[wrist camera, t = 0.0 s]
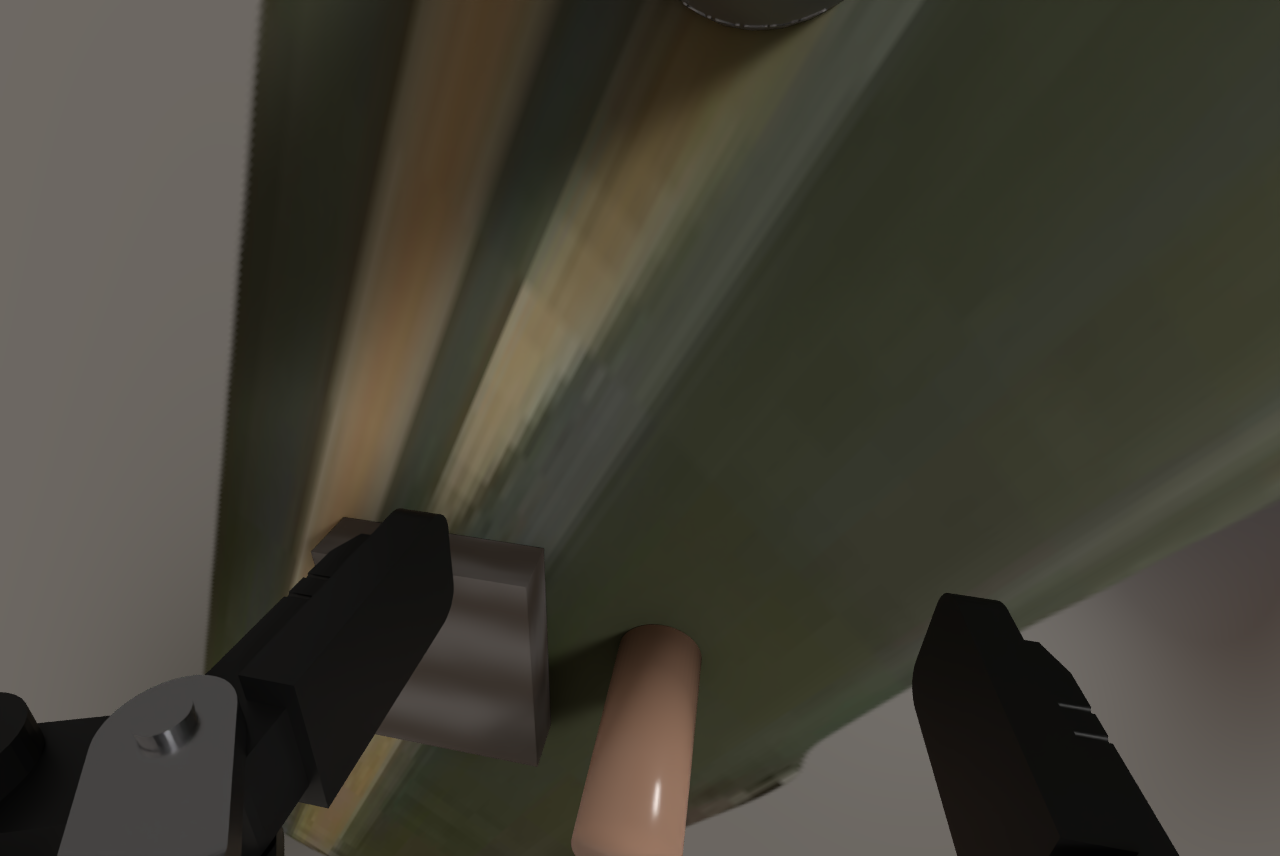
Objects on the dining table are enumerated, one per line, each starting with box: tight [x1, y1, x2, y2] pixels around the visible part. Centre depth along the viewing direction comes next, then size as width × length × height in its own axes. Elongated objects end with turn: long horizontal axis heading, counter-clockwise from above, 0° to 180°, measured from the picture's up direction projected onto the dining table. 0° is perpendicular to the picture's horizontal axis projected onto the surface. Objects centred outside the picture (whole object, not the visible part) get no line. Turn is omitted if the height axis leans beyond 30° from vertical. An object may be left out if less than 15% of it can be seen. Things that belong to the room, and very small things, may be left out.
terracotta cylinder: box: [571, 624, 702, 856], centre depth 32 cm, size 5×5×11 cm
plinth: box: [311, 517, 551, 767], centre depth 37 cm, size 16×12×3 cm
